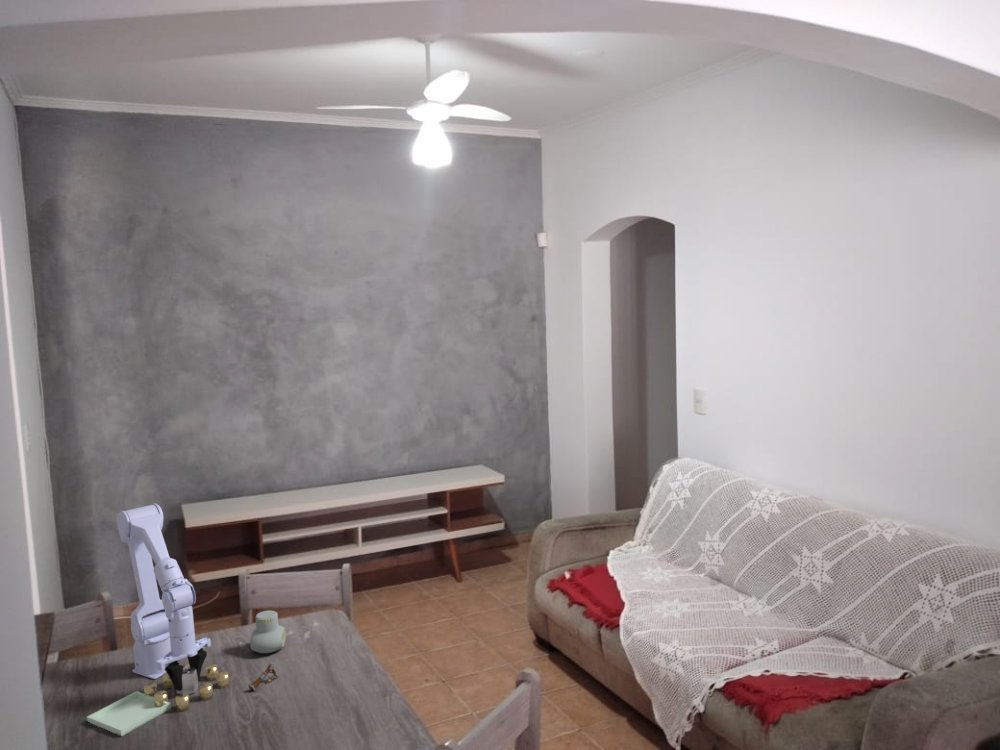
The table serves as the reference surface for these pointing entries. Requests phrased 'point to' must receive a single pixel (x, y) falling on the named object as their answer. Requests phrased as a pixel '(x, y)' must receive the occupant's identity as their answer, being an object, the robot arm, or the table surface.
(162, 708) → the tray
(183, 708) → the set of brass balls
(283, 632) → the air freshener
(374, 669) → the table surface
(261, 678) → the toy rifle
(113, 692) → the table surface
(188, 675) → the steel nut
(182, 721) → the table surface
